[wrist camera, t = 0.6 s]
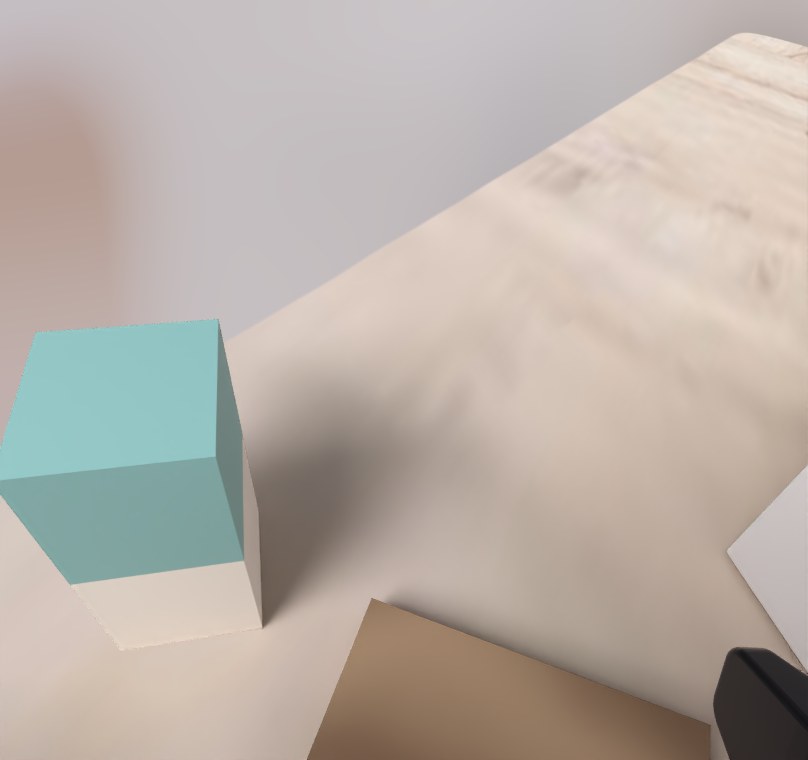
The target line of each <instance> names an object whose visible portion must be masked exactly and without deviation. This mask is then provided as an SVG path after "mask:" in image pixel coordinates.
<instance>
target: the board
mask: <svg viewBox="0 0 808 760" xmlns="http://www.w3.org/2000/svg"><path fill="white" fill-rule="evenodd" d="M307 760H710V725H708V724H706V723H703V722H700V721H698V720H695V719H693V718H690V717H687V716H685V715H682V714H679V713H677V712H674V711H671V710H669V709H666V708H663V707H661V706H658V705H655V704H653V703H650V702H647V701H645V700H642V699H639V698H637V697H634V696H631V695H629V694H626V693H623V692H621V691H618V690H615V689H613V688H610V687H607V686H605V685H602V684H599V683H597V682H594V681H591V680H589V679H586V678H583V677H581V676H578V675H575V674H573V673H570V672H567V671H565V670H562V669H559V668H557V667H554V666H551V665H549V664H546V663H543V662H541V661H538V660H535V659H533V658H530V657H527V656H525V655H522V654H519V653H517V652H514V651H511V650H509V649H506V648H503V647H501V646H498V645H495V644H493V643H490V642H487V641H485V640H482V639H479V638H477V637H474V636H471V635H469V634H466V633H463V632H461V631H458V630H455V629H453V628H450V627H447V626H445V625H442V624H439V623H437V622H434V621H431V620H429V619H426V618H423V617H421V616H418V615H415V614H413V613H410V612H407V611H405V610H402V609H399V608H397V607H394V606H391V605H389V604H386V603H383V602H381V601H378V600H375V599H373V598H372V599H371V601H370V604H369V606H368V609H367V611H366V614H365V616H364V619H363V621H362V624H361V626H360V629H359V631H358V634H357V636H356V639H355V641H354V644H353V646H352V649H351V651H350V654H349V656H348V659H347V661H346V664H345V666H344V669H343V671H342V674H341V676H340V679H339V681H338V684H337V686H336V688H335V691H334V693H333V696H332V698H331V701H330V703H329V706H328V708H327V711H326V713H325V716H324V718H323V721H322V723H321V726H320V728H319V731H318V733H317V736H316V738H315V741H314V743H313V746H312V748H311V751H310V753H309V756H308V758H307Z"/></svg>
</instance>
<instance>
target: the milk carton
mask: <svg viewBox="0 0 808 760" xmlns="http://www.w3.org/2000/svg"><path fill="white" fill-rule="evenodd" d="M727 554H728V555H729V557H730V558H731V560H732V561H733V563H734V564H735V566H736V567H737V569H738V570H739V572H740V573H741V575H742V576H743V578H744V579H745V581H746V582H747V584H748V585H749V587H750V588H751V589H752V591H753V592H754V594H755V595H756V597H757V598H758V600H759V601H760V603H761V604H762V606H763V607H764V609H765V610H766V612H767V613H768V615H769V616H770V618H771V619H772V621H773V622H774V624H775V625H776V627H777V628H778V630H779V631H780V633H781V634H782V636H783V637H784V639H785V640H786V641H787V643H788V644H789V646H790V647H791V649H792V650H793V652H794V653H795V655H796V656H797V658H798V659H799V661H800V662H801V664H802V665H803V667H804V668H805V670H806V671H807V673H808V465H807V466H806V467H805V468H804V469H803V470H802V471H801V472H800V473H799V474H798V475H797V476H796V477H795V478H794V480H793V481H792V482H791V483H790V484H789V485H788V486H787V487H786V488H785V489H784V490H783V491H782V492H781V493H780V494H779V495H778V496H777V497H776V499H775V500H774V501H773V502H772V503H771V504H770V505H769V506H768V507H767V508H766V509H765V510H764V511H763V512H762V513H761V514H760V515H759V517H758V518H757V519H756V520H755V521H754V522H753V523H752V524H751V525H750V526H749V527H748V528H747V529H746V530H745V531H744V532H743V533H742V534H741V536H740V537H739V538H738V539H737V540H736V541H735V542H734V543H733V544H732V545H731V546H730V547H729V548H728V550H727Z"/></svg>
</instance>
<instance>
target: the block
mask: <svg viewBox="0 0 808 760" xmlns="http://www.w3.org/2000/svg"><path fill="white" fill-rule="evenodd" d="M0 495H1V496H2V497H3V499H4V500H5V501H6V502H7V504H8V505H9V506H10V508H11V509H12V510H13V512H14V513H15V514H16V515H17V517H18V518H19V519H20V521H21V522H22V523H23V524H24V526H25V527H26V528H27V530H28V531H29V532H30V534H31V535H32V536H33V537H34V539H35V540H36V541H37V543H38V544H39V545H40V547H41V548H42V549H43V550H44V552H45V553H46V554H47V556H48V557H49V558H50V559H51V561H52V562H53V563H54V565H55V566H56V567H57V569H58V570H59V571H60V572H61V574H62V575H63V576H64V578H65V579H66V580H67V582H68V583H69V584H70V585H71V587H72V588H73V589H74V591H75V592H76V593H77V595H78V596H79V597H80V598H81V600H82V601H83V602H84V604H85V605H86V606H87V607H88V609H89V610H90V611H91V613H92V614H93V615H94V617H95V618H96V619H97V620H98V622H99V623H100V624H101V626H102V627H103V628H104V630H105V631H106V632H107V633H108V635H109V636H110V637H111V639H112V640H113V641H114V642H115V644H116V645H117V646H118V648H119V649H120V650H121V651H123V650H129V649H135V648H142V647H148V646H154V645H161V644H167V643H173V642H180V641H186V640H192V639H199V638H205V637H211V636H218V635H224V634H230V633H237V632H243V631H249V630H256V629H262V628H263V625H262V595H261V565H260V535H259V511H258V506H257V501H256V496H255V492H254V487H253V482H252V477H251V472H250V468H249V463H248V458H247V453H246V449H245V444H244V439H243V434H242V430H241V425H240V420H239V415H238V410H237V406H236V401H235V396H234V391H233V387H232V382H231V377H230V372H229V367H228V363H227V358H226V353H225V348H224V344H223V340H222V334H221V329H220V324H219V320H218V319H214V320H200V321H186V322H175V323H174V322H173V323H160V324H145V325H132V326H118V327H106V328H92V329H77V330H64V331H50V332H36V333H35V336H34V339H33V342H32V346H31V349H30V352H29V356H28V360H27V362H26V365H25V369H24V372H23V375H22V379H21V382H20V385H19V388H18V392H17V395H16V398H15V402H14V405H13V409H12V411H11V415H10V418H9V422H8V425H7V428H6V431H5V435H4V438H3V441H2V444H1V448H0Z"/></svg>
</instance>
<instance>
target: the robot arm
mask: <svg viewBox="0 0 808 760" xmlns="http://www.w3.org/2000/svg"><path fill="white" fill-rule="evenodd" d="M713 707H714V714H715V719H716V722H717V725H718V728H719V730H720V733H721V736H722V739H723V742H724V745H725V747H726V750H727V753H728V756H729V759H730V760H808V676H807V675H805V674H804V673H802V672H801V671H799V670H798V669H797V668H795V667H794V666H792V665H791V664H789V663H788V662H786V661H785V660H783V659H782V658H780V657H779V656H778V655H776V654H775V653H773V652H771V651H770V650H767V649H764V648H748V647H736V648H732V649H731V650H730V651H729V652H728V654H727V656H726V659H725V662H724V665H723V669H722V672H721V675H720V678H719V682H718V685H717V688H716V691H715V695H714V702H713Z"/></svg>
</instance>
